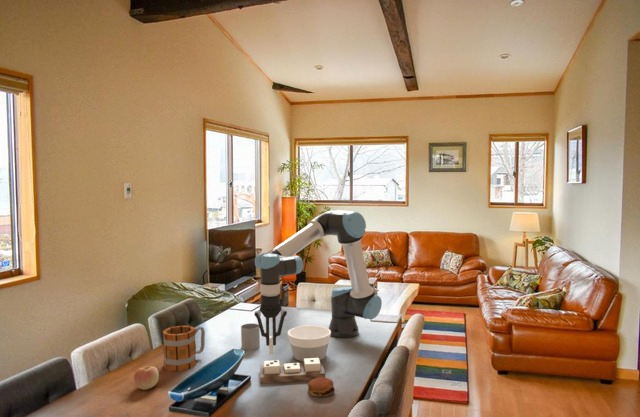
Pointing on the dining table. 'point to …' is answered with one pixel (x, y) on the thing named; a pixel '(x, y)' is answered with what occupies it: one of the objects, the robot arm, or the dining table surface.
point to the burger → (320, 387)
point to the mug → (181, 347)
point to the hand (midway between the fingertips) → (271, 353)
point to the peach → (146, 377)
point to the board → (291, 375)
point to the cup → (250, 337)
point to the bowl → (309, 341)
